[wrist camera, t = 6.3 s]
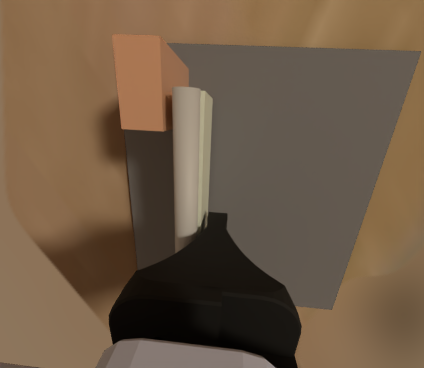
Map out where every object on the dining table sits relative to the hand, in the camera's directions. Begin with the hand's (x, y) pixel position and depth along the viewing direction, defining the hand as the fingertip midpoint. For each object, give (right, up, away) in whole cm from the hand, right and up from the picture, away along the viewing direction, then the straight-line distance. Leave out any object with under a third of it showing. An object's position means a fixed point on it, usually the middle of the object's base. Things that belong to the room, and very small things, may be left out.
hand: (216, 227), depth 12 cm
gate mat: (+2, +1, +2) cm, 3 cm away
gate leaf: (-1, +2, +2) cm, 3 cm away
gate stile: (-2, +8, +1) cm, 8 cm away
